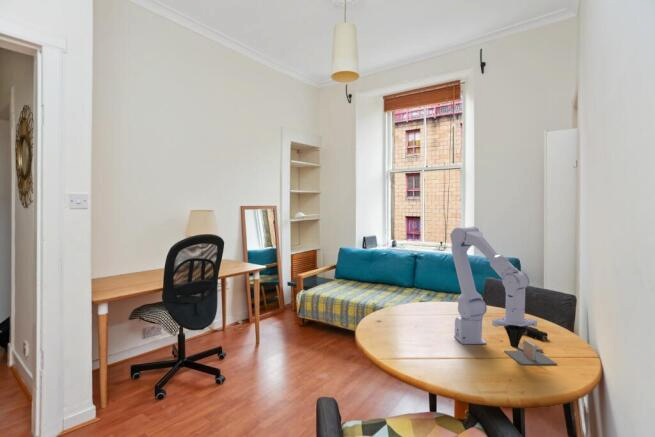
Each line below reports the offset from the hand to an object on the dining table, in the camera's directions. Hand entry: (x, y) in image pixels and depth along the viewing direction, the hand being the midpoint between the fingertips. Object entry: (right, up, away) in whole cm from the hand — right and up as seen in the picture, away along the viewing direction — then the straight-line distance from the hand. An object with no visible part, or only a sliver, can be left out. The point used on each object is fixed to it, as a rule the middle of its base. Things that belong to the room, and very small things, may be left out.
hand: (514, 346), depth 115 cm
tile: (+6, -4, 0) cm, 7 cm away
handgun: (+20, -4, +25) cm, 32 cm away
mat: (+6, -4, 0) cm, 7 cm away
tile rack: (+9, -4, +8) cm, 13 cm away
